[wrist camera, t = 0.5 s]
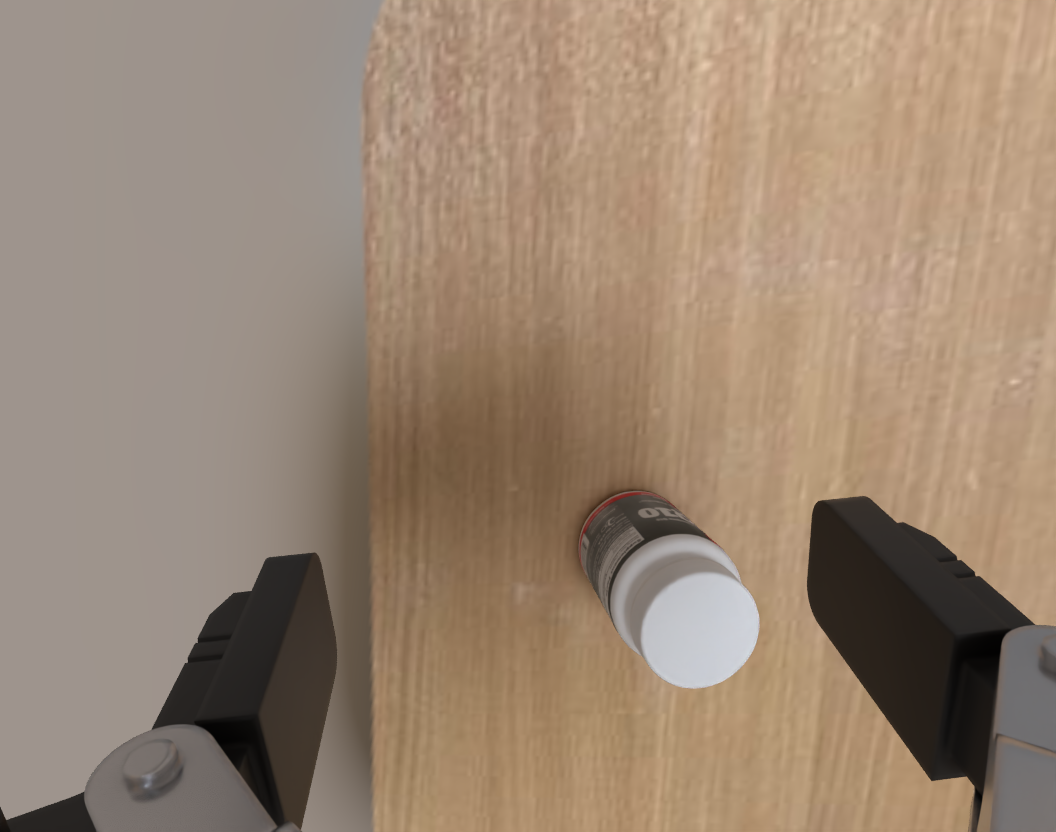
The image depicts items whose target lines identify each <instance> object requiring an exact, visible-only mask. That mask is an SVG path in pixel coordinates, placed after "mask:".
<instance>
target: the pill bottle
mask: <svg viewBox="0 0 1056 832" xmlns="http://www.w3.org/2000/svg"><path fill="white" fill-rule="evenodd" d="M579 558H580V562H581V566H582V568H583V570H584V573H585V575H586V577H587V578H588V580H589V581H590V583H591V585H592V587H593V588H594V590H595V592H596V593H597V595H598V597H599V599H600V601H601V603H602V604H603V606H604V608H605V610H606V612H607V613H608V615H609V617H610V619H611V621H612V622H613V625H614V627H615V628H616V630H617V632H618V633H619V635H620V636H621V638H622V639H623V640H624V642H625V643H626V644H627V645H628V646H629V647H630V648H631V649H632V650H633V651H635V652H636V653H638V654H639V655H641V656H642V657H643V658H644V659H645V661H646V662H647V664H648V665H649V666H650V668H651V669H652V670H653V671H654V672H655V673H656V674H657V675H658V676H659V677H660V678H662V679H663V680H665V681H666V682H668V683H670V684H673V685H675V686H679V687H683V688H704V687H709V686H712V685H715V684H718V683H720V682H722V681H724V680H726V679H727V678H729V677H730V676H732V675H733V674H734V673H735V672H737V671H738V670H739V669H740V668H741V667H742V666H743V664H744V663H745V662H746V661H747V659H748V658H749V656H750V655H751V653H752V651H753V649H754V647H755V645H756V642H757V638H758V633H759V614H758V610H757V606H756V604H755V601H754V599H753V597H752V596H751V594H750V592H749V591H748V590H747V589H746V588H745V586H744V585H743V584H742V583H741V579H740V576H739V573H738V571H737V568H736V567H735V565H734V563H733V562H732V560H731V559H730V558H729V556H728V555H727V554H726V553H725V552H724V550H723V549H722V548H721V547H720V546H719V545H717V544H716V543H715V542H714V541H713V540H712V539H710V538H709V537H708V536H707V535H706V534H705V533H704V532H703V531H701V530H700V529H699V528H698V527H697V526H696V525H695V524H694V523H692V522H691V521H690V520H689V519H688V518H687V517H686V516H685V515H684V514H682V513H681V512H680V511H679V510H678V509H677V508H676V507H675V506H674V505H672V504H671V503H670V502H669V501H667V500H666V499H664V498H663V497H661V496H658V495H656V494H653V493H650V492H645V491H629V492H623V493H620V494H617V495H615V496H612V497H610V498H609V499H607V500H605V501H604V502H603V503H601V504H600V505H599V506H598V507H597V508H596V509H595V510H594V511H593V512H592V513H591V514H590V515H589V517H588V518H587V520H586V522H585V523H584V526H583V528H582V531H581V534H580V539H579Z"/></svg>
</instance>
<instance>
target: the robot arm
mask: <svg viewBox="0 0 1056 832" xmlns="http://www.w3.org/2000/svg"><path fill="white" fill-rule="evenodd" d="M807 591H808V598H809V603H810V606H811V609H812V612H813V615H814V617H815V619H816V621H817V622H818V624H819V625H820V627H821V628H822V629H823V631H824V632H825V633H826V635H827V636H828V638H829V639H830V640H831V642H832V643H833V645H834V646H835V647H836V649H837V650H838V652H839V653H840V654H841V656H842V657H843V659H844V660H845V661H846V663H847V664H848V665H849V667H850V668H851V670H852V671H853V672H854V674H855V675H856V677H857V678H858V679H859V681H860V682H861V684H862V685H863V686H864V688H865V689H866V690H867V692H868V693H869V695H870V696H871V697H872V699H873V700H874V702H875V703H876V704H877V706H878V707H879V709H880V710H881V711H882V713H883V714H884V715H885V717H886V718H887V720H888V721H889V722H890V724H891V725H892V727H893V728H894V729H895V731H896V732H897V734H898V735H899V736H900V738H901V739H902V741H903V742H904V743H905V745H906V746H907V747H908V749H909V750H910V752H911V753H912V754H913V756H914V757H915V759H916V760H917V761H918V763H919V764H920V766H921V767H922V768H923V770H924V771H925V772H926V774H927V775H928V777H929V778H930V779H931V781H934V780H942V779H950V778H958V777H966V776H967V777H968V779H969V780H970V781H971V782H972V784H973V785H974V786H975V787H974V792H973V797H972V803H971V809H970V818H969V826H968V832H1056V626H1047V625H1035V624H1034V623H1033V622H1032V621H1030V620H1029V619H1028V618H1027V617H1026V616H1025V615H1024V614H1022V613H1021V612H1020V611H1019V610H1018V609H1017V608H1016V607H1014V606H1013V605H1012V604H1011V603H1010V602H1009V601H1007V600H1006V599H1005V598H1004V597H1003V596H1002V595H1001V594H999V593H998V592H997V591H996V590H995V589H994V588H993V587H991V586H990V585H989V584H988V583H987V582H986V581H984V580H983V579H982V578H981V577H980V576H975V572H974V571H973V570H972V569H971V568H970V567H968V566H967V565H966V564H965V563H964V562H963V561H961V560H957V556H956V555H955V554H953V553H952V552H951V551H950V550H949V549H948V548H946V547H945V546H944V545H943V544H942V543H941V542H940V541H938V540H937V539H936V538H935V537H933V536H931V535H929V534H927V533H925V532H923V531H920V530H918V529H916V528H914V527H912V526H910V525H908V524H906V523H904V522H902V523H896V522H895V521H894V520H893V519H892V518H891V517H890V516H889V515H888V514H886V513H885V512H884V511H883V510H882V509H881V508H880V507H879V506H878V505H877V504H875V503H874V502H873V501H872V500H871V499H870V498H868V497H866V496H860V497H850V498H841V499H831V500H822V501H818V502H817V503H816V504H815V506H814V509H813V513H812V523H811V537H810V550H809V564H808V577H807ZM336 666H337V648H336V637H335V631H334V626H333V621H332V616H331V611H330V606H329V600H328V595H327V590H326V585H325V581H324V575H323V570H322V565H321V562H320V559H319V556H318V555H317V554H316V553H307V554H297V555H288V556H278V557H269V558H267V559H266V560H265V562H264V564H263V567H262V569H261V571H260V573H259V575H258V578H257V580H256V582H255V584H254V587H253V589H252V591H248V592H239V593H233V594H232V595H231V596H230V597H229V598H228V599H227V600H225V602H223V603H222V604H221V605H220V606H219V607H218V608H217V609H216V610H214V611H213V612H212V613H211V614H210V615H209V617H208V619H207V621H206V623H205V625H204V627H203V629H202V631H201V633H200V635H199V637H198V643H196V644H195V645H194V647H193V649H192V651H191V653H190V655H189V657H188V663H185V665H184V667H183V668H182V670H181V672H180V675H179V676H178V678H177V680H176V682H175V684H174V686H173V688H172V690H171V692H170V694H169V696H168V698H167V700H166V702H165V704H164V706H163V708H162V710H161V712H160V714H159V716H158V718H157V720H156V722H155V724H154V726H153V728H152V730H151V731H148V732H145V733H143V734H140V735H138V736H136V737H134V738H132V739H131V740H129V741H127V742H125V743H124V744H122V745H121V746H119V747H118V748H117V749H115V750H114V751H113V752H111V753H110V754H109V755H108V756H107V757H106V758H105V759H104V760H103V761H102V762H101V763H100V764H99V765H98V766H97V768H96V769H95V770H94V772H93V773H92V774H91V776H90V778H89V780H88V782H87V785H86V788H85V792H83V793H81V794H78V795H76V796H73V797H71V798H68V799H66V800H62V801H60V802H57V803H54V804H51V805H48V806H45V807H43V808H40V809H37V810H34V811H31V812H29V813H26V814H23V815H20V816H17V817H14V818H11V819H9V820H6V819H5V817H4V814H3V812H2V810H1V808H0V832H302V831H301V827H302V823H303V818H304V814H305V809H306V805H307V800H308V796H309V791H310V787H311V783H312V778H313V774H314V769H315V765H316V760H317V756H318V751H319V747H320V742H321V737H322V733H323V728H324V724H325V720H326V715H327V711H328V706H329V701H330V697H331V693H332V688H333V684H334V679H335V674H336Z"/></svg>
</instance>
